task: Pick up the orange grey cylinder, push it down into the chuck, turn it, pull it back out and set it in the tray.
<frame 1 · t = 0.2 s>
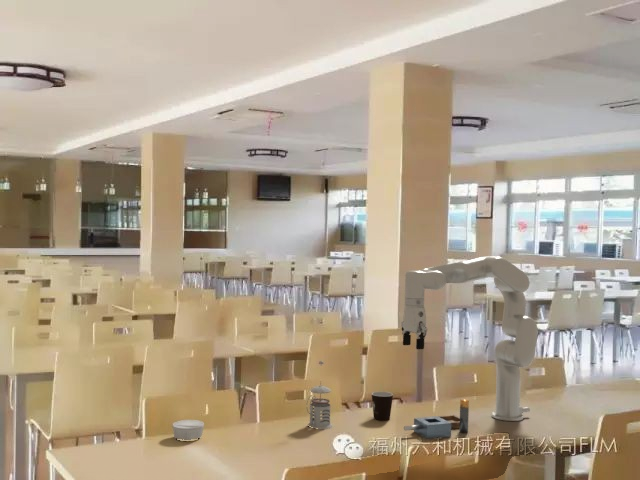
hand: (413, 347, 274), 31 cm above the table, tool pointing down, fingers open, 9 cm apart
ramekin: (188, 438, 253), on the table
french press: (318, 426, 271), on the table
orange grey cylinder: (463, 431, 268), on the table
coffee mug: (382, 418, 286), on the table
chuck: (432, 433, 264), on the table
tray: (447, 425, 277), on the table
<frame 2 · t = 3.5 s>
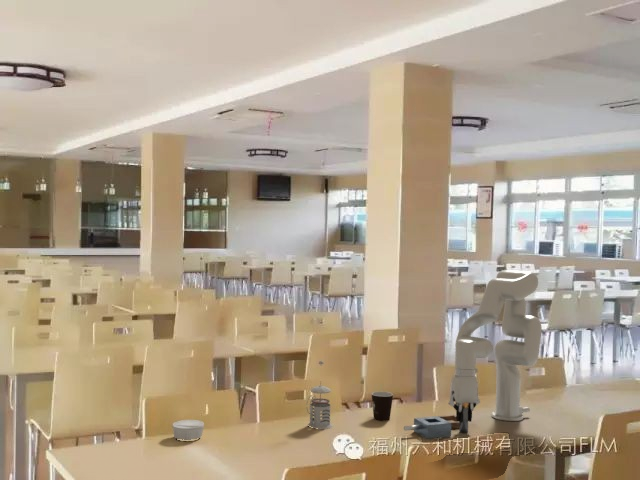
hand: (464, 420, 268), 4 cm above the table, tool pointing down, fingers closed on orange grey cylinder, 3 cm apart
orange grey cylinder: (463, 431, 268), on the table, touching gripper
everything else where it was.
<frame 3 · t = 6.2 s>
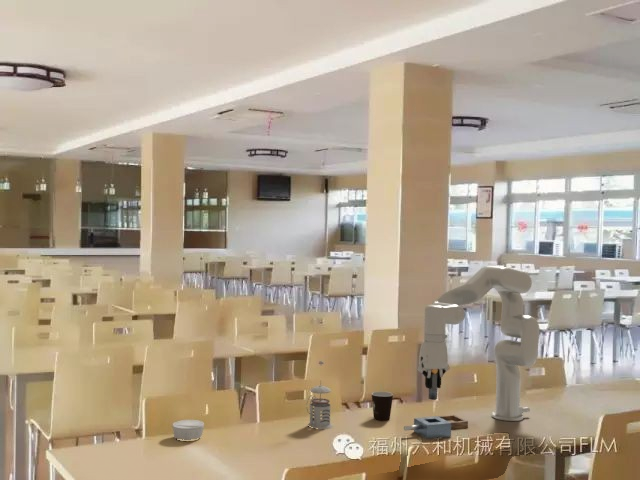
hand: (433, 387, 264), 17 cm above the table, tool pointing down, fingers closed on orange grey cylinder, 3 cm apart
orange grey cylinder: (432, 398, 264), point 13 cm above the table, touching gripper
everything else where it was.
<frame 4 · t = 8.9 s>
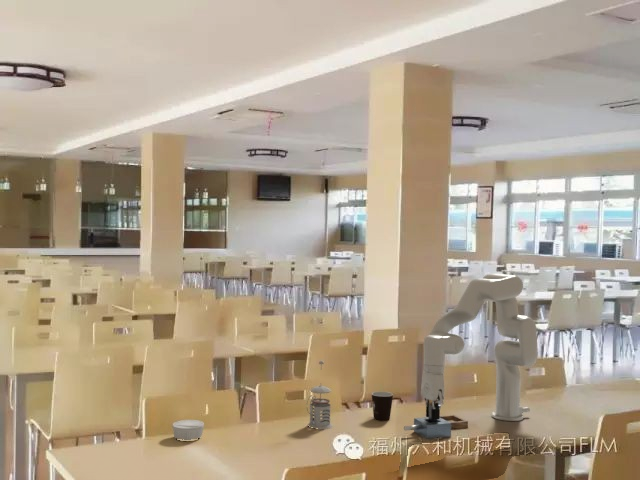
hand: (432, 417, 264), 6 cm above the table, tool pointing down, fingers closed on orange grey cylinder, 3 cm apart
orange grey cylinder: (432, 428, 264), point 2 cm above the table, touching gripper
everything else where it was.
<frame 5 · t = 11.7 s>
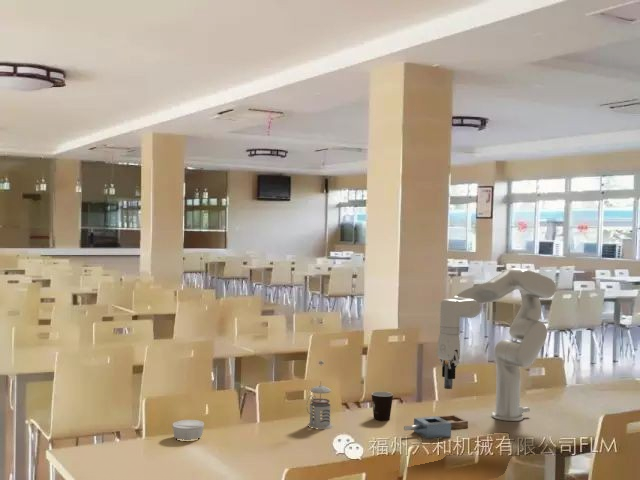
hand: (448, 377, 277), 19 cm above the table, tool pointing down, fingers closed on orange grey cylinder, 3 cm apart
orange grey cylinder: (448, 388, 277), point 14 cm above the table, touching gripper
everything else where it was.
when the fingers open (6 cm above the table, at t = 14.2 s): orange grey cylinder stays where it is, resting on tray.
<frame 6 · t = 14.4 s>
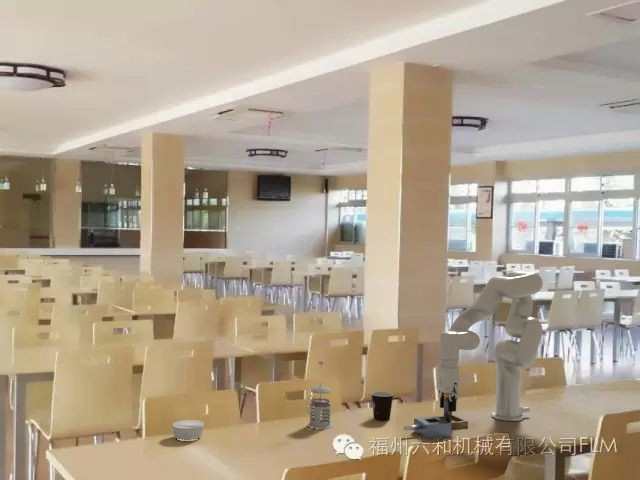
hand: (447, 409, 277), 6 cm above the table, tool pointing down, fingers open, 5 cm apart
orange grey cylinder: (447, 422, 277), point 1 cm above the table, touching tray
everything else where it was.
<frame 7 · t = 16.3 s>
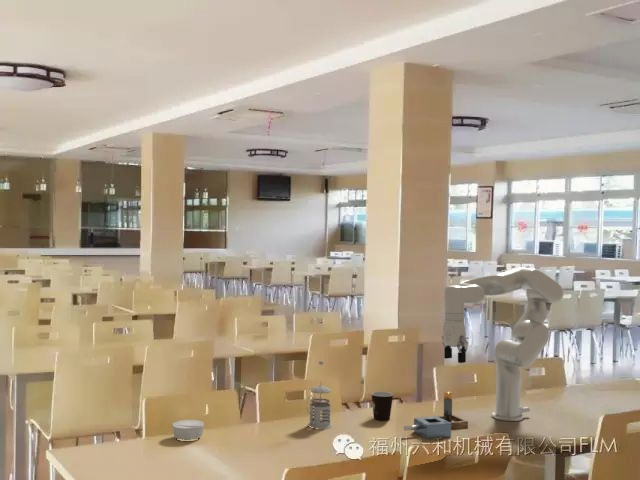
hand: (454, 360, 279), 25 cm above the table, tool pointing down, fingers open, 9 cm apart
nothing on the table moved.
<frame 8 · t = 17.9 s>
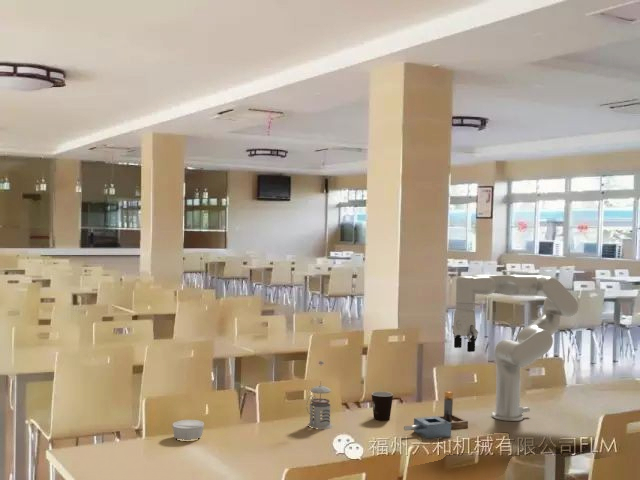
hand: (464, 349, 285), 28 cm above the table, tool pointing down, fingers open, 9 cm apart
nothing on the table moved.
at the end: orange grey cylinder inside the target area on the tray (0.1 cm from its centre), point 0.8 cm above the tray's base; orange grey cylinder touching tray; the gripper is holding nothing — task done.
